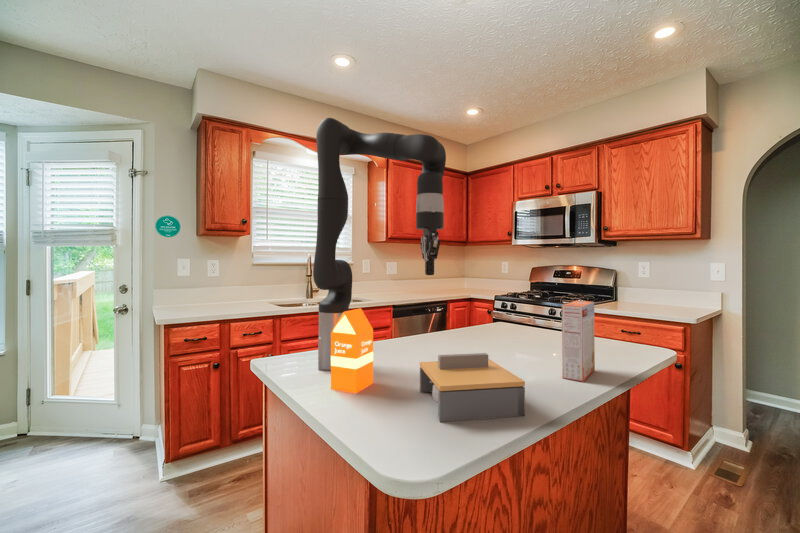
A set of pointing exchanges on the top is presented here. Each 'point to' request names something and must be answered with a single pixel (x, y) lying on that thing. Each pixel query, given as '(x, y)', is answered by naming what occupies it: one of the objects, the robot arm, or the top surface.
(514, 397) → the box
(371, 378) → the orange juice
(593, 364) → the cracker box
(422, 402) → the top surface
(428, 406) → the top surface
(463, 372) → the lid
